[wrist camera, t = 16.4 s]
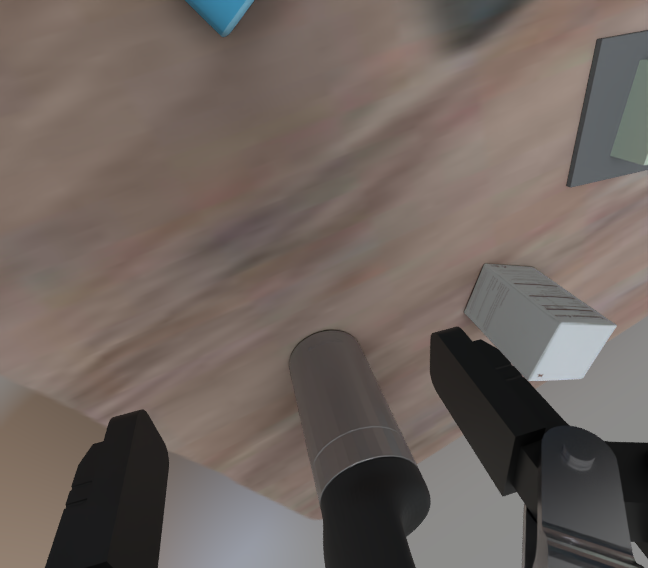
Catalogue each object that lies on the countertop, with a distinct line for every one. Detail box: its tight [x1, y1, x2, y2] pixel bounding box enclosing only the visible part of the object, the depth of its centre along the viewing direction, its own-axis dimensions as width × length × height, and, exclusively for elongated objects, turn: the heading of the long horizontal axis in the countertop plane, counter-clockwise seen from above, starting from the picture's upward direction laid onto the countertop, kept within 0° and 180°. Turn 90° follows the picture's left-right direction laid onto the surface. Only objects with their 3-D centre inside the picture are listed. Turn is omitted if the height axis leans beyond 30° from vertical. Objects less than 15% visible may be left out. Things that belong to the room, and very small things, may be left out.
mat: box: [567, 30, 648, 187], centre depth 41 cm, size 14×14×1 cm
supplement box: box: [464, 264, 617, 381], centre depth 44 cm, size 7×7×13 cm
